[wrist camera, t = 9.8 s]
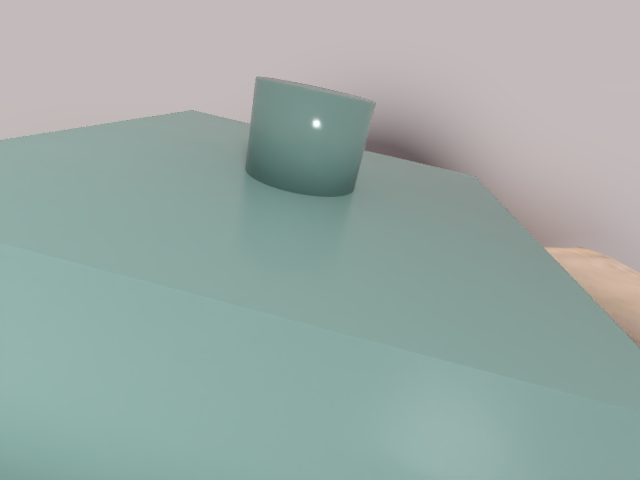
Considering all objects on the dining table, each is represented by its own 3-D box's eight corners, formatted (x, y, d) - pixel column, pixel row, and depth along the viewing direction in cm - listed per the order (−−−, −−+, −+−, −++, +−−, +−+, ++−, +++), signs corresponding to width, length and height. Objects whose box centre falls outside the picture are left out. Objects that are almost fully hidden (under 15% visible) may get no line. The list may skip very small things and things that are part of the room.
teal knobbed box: (176, 411, 13) (194, 53, 8) (364, 465, 12) (496, 120, 8) (-8, 704, 7) (-334, -22, 2) (345, 828, 6) (888, 259, 2)
